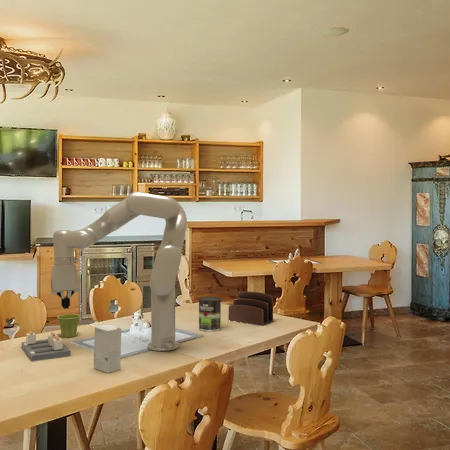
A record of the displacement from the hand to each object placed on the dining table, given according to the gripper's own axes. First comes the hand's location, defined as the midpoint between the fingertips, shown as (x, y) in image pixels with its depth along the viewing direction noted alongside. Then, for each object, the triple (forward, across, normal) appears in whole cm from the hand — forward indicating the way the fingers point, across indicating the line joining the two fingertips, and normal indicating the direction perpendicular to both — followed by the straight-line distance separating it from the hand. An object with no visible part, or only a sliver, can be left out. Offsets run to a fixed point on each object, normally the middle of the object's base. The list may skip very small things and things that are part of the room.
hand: (65, 308), depth 209 cm
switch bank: (+16, +8, -1) cm, 18 cm away
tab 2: (+14, +5, -1) cm, 15 cm away
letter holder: (+18, -89, -7) cm, 91 cm away
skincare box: (+17, -7, +32) cm, 37 cm away
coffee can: (+18, -65, -3) cm, 67 cm away
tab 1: (+14, +12, -8) cm, 20 cm away
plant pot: (+17, -5, -22) cm, 28 cm away
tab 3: (+14, +5, +6) cm, 16 cm away
